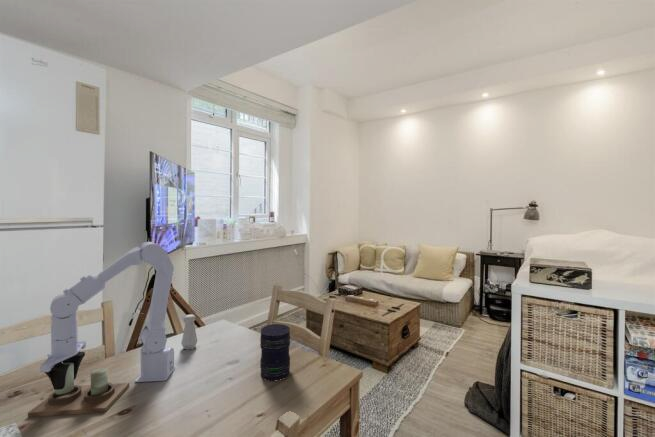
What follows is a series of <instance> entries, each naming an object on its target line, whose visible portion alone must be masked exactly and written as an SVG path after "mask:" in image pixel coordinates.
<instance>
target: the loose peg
mask: <svg viewBox="0 0 655 437" xmlns="http://www.w3.org/2000/svg"><path fill="white" fill-rule="evenodd" d="M64 364H70V365H69V367H68V370H67V373H66V378H65V386H64V388H63V389H60V390H55V393H56V394H65V393H68V392H70V391H72V390H73V389H74V385H75V380H74V363H72V362H69V363H64Z"/></svg>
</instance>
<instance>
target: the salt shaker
mask: <svg viewBox="0 0 655 437" xmlns="http://www.w3.org/2000/svg"><path fill="white" fill-rule="evenodd" d="M195 321H196V315H195V314H191V313H190V314H186V315H185V316H184V317H183V323H184V324H185V325H184V328H183V335H182V339H181V347H182V348H183V350H184V349H186V350H185V351H190V350H189V349H191V350H193V349H192V348H194V347H195V348H196V346H197V344H198V337H197V331H196V327H195ZM195 348H194V349H195Z"/></svg>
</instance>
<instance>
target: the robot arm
mask: <svg viewBox="0 0 655 437" xmlns="http://www.w3.org/2000/svg"><path fill="white" fill-rule="evenodd" d="M142 261H144V262H145V263H147V264H148V265H150V266H151V267H152V268H153V269H154V270H155V271H156V273H155V278H154V284H153V288H152V289H153V290H152V294H151V301H150V305H149V309H148V310H149V311H148V316H147V319H146V321H145V324H144V327H143V328H142V329H141V332H140V334H139V338H140V341H141V342H142V343H143V345H142V346H141V348H140V375H138V377H137V378H136V379H135V380H134V382H135V383H143V382H144V383H147V382H162V381H163V382H164V381H167V379H169V377H170V376H171V375H172V373H173V372H174V370H175V369H176V366H175V349H174V348H173V347H169V346H167V345H166V344H167V340H168V339H167V335H166V321H165V320H166V314H167V309H168V303H169V297H170V292H171V288H172V287H171V285H172V281H173V275H174V269H175V268H174V267H175V266H174V264H173V262H172V260H171V258H170V255H168V251H167V250H166V249H165V248H163V247H162V246H161V245H159V244H158V243H155V242H153V241H144V242H142V243H140V245H138V246H135V247H133V248H132V249H131V250H129V251H127V252H126V253H125V254H123V255H122V256H121V257H119V258H118V259H117V260H115V261H114V262H112V263H111V264H110V265H108V266H107V267H106V268H104V269H103V270H102V271H101V272H99V273H98V274H89V275H87V276H86V275H83V276H81V278H80V279H79V280H80V281H79V282H77V283H76V284H74V285H72V286H71V287H70V288H65V289H64V290H63V293H60V294H58V295H56V296H55V297H54V298H52V301H51V303H50V308H49V310H50V313H51V317H50V320H51V322H50V341H51V342H50V350H51V351H50V352H48V353H47V354H46V355H47V358H46V360H45V361H44V362H43V363H41V364H39V365H40V366H39V372H40V373H44V374H46V376H47V377H48V379H49V380H50V382H51V384H52V387H53V390H60V389H63V388H64V386H65V378H66V373H67V370H68V367H69V365H70V364H64V363H69V362H72V363H74V381H75V380H76V378H77V375H78V371H79V368H80V366H81V363H82V361H83V359H84V357H85V355H86V352H85V351H81V350H83V349H84V350H85V349H86V347H87V343H86V341H85V340H84V341H83V340H82V341H79V334H78V333H79V331H78V328H79V327H78V322H79V320H78V317H77V311H78V310H79V306H81V305H83V304H85V303H86V302H88V301H90V300H91V299H92V298H94V297H95V296H96V295H98V294H99V293H100V292H102V291H103V290H105V286H106V283H107V282H109V280H111V279H113V278H115V277H116V276H117V275H119V274H120V273H121V272H123V271H125V270H126V269H128V268H130V267H131V266H138V265H139V266H140V265H143V262H142Z"/></svg>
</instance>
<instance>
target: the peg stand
mask: <svg viewBox="0 0 655 437" xmlns="http://www.w3.org/2000/svg"><path fill="white" fill-rule="evenodd" d="M128 388H130V382H121V383H111V382H109V368H107V367H99V368H97V369H95V370H93V371H91V373H90V384H87V385H86V384H85V385H82V384H81V385H76V384H74V389H73V390H72V391H70V392H68V393H65V394H56V393H55V391H53V392H52V393H50V394H49V395H48V397H46V398H45V399H44V400H42V401H41V402H39V404H37V405H36V406H35V407H33V408H32V409H31V410H30V411H28V412H27V417H28V418H36V417H37V418H38V417H53V416H66V415H80V414H81V415H82V414H95V413H96V414H99V413H107V411H108V410H109V409H110V408H112V406H113V405H114V404H115V403H116V402H117V401H118V400H119V399H120V398H121V396H123V394H124V393H125V392H127V390H128Z"/></svg>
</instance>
